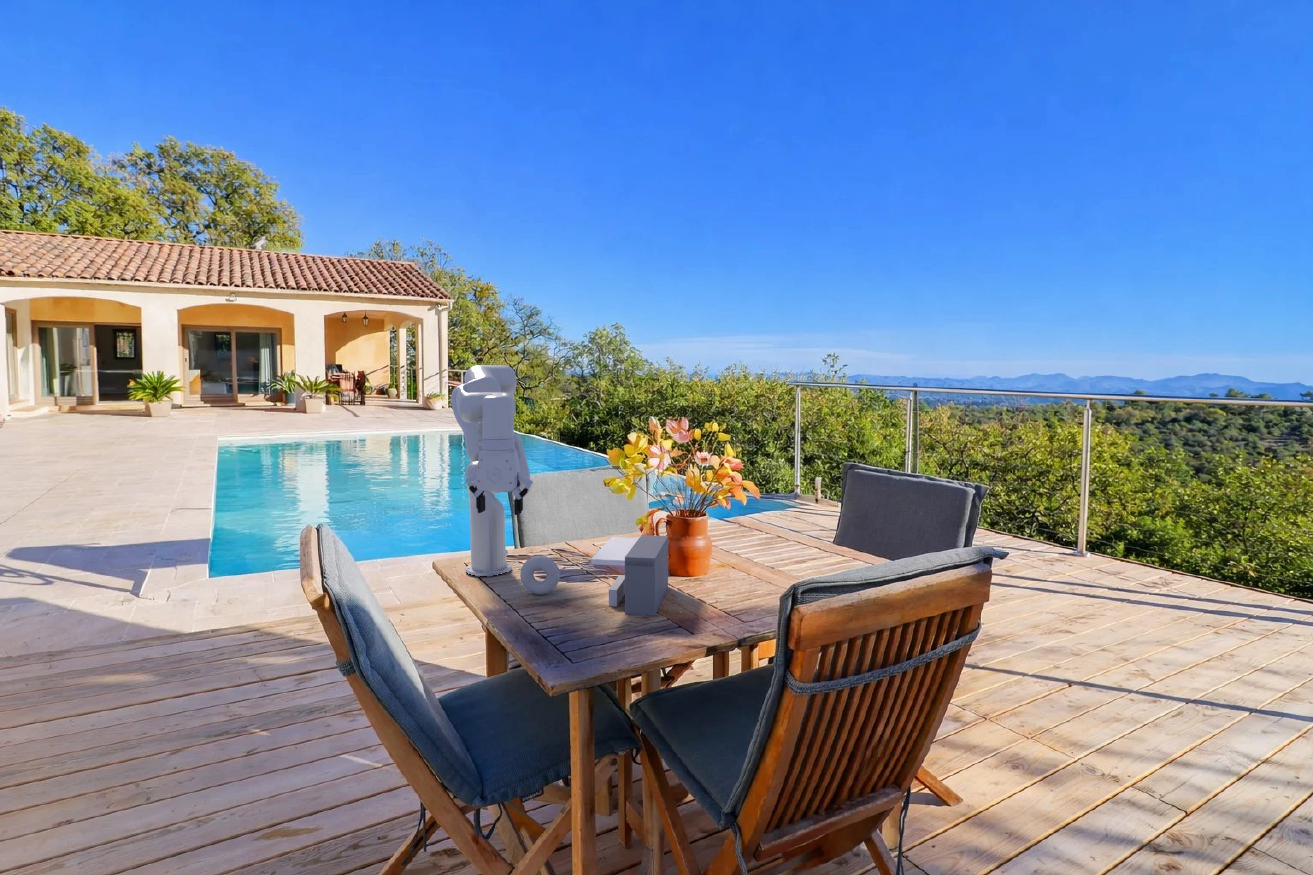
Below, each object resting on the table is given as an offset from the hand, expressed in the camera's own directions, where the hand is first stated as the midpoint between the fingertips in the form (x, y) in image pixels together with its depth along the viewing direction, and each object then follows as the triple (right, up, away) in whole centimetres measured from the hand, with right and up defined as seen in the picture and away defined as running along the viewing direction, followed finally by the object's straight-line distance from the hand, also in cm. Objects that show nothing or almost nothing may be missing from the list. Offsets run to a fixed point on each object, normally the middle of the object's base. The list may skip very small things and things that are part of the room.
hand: (499, 512), depth 176 cm
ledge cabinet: (+33, -21, -2) cm, 39 cm away
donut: (+10, -21, +2) cm, 23 cm away
